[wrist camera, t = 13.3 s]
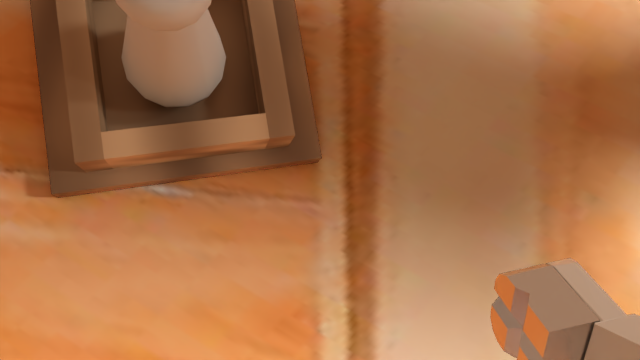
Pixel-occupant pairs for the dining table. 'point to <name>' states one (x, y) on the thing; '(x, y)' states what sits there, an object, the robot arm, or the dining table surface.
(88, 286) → the dining table surface
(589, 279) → the robot arm
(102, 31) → the board
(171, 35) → the salt shaker
